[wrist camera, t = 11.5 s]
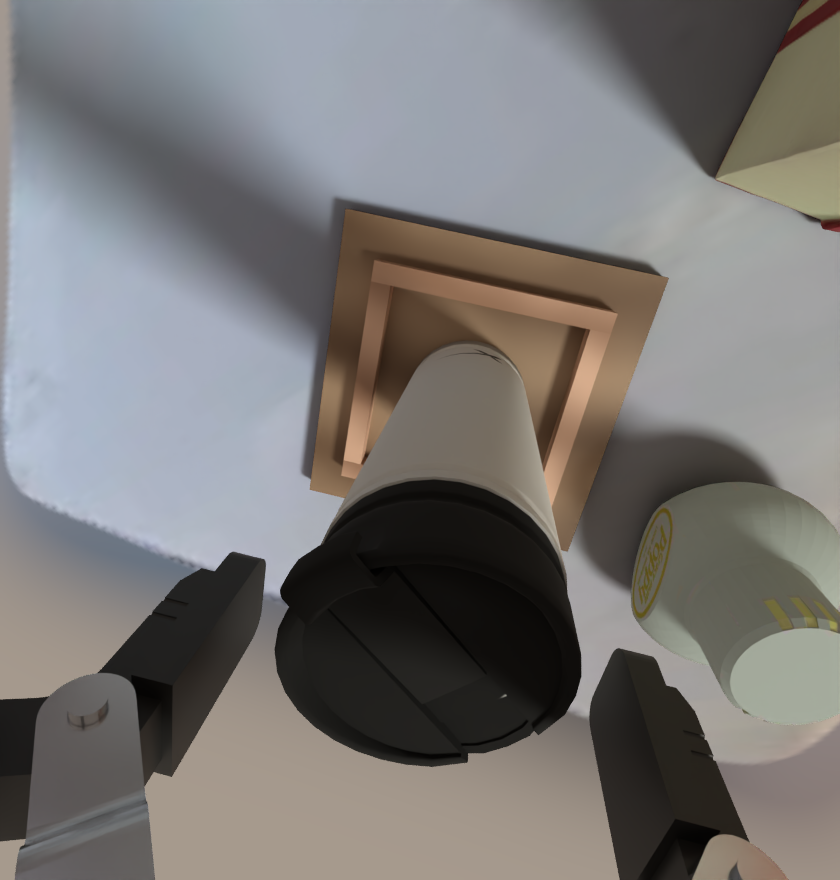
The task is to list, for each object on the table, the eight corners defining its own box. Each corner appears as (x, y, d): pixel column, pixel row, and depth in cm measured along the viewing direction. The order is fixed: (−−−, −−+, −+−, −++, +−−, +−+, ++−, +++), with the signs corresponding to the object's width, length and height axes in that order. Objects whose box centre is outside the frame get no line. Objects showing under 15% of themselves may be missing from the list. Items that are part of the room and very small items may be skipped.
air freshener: (664, 451, 29) (742, 552, 20) (817, 475, 29) (972, 591, 19) (613, 606, 33) (659, 748, 24) (747, 629, 33) (846, 785, 24)
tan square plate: (350, 209, 27) (340, 207, 25) (662, 276, 26) (675, 280, 24) (314, 482, 33) (304, 497, 31) (565, 542, 32) (569, 561, 30)
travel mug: (479, 309, 27) (453, 480, 8) (547, 412, 28) (656, 752, 10) (383, 376, 29) (187, 638, 10) (452, 469, 30) (390, 843, 12)
